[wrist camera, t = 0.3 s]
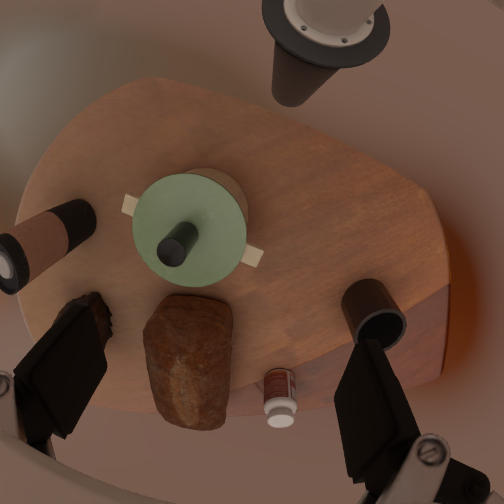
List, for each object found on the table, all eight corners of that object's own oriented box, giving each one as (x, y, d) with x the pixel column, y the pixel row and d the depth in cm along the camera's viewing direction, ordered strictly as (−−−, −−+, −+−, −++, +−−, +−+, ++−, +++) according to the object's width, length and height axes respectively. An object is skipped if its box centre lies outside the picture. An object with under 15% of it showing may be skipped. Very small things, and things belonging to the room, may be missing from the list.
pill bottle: (258, 381, 53) (256, 424, 43) (274, 363, 51) (274, 409, 41) (284, 390, 54) (285, 432, 44) (300, 373, 52) (305, 417, 42)
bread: (170, 389, 57) (156, 431, 45) (158, 283, 46) (129, 326, 34) (230, 399, 56) (224, 444, 45) (240, 294, 45) (231, 344, 34)
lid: (154, 155, 29) (127, 161, 23) (267, 200, 30) (266, 217, 24) (126, 256, 34) (101, 281, 28) (222, 298, 35) (213, 331, 29)
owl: (99, 286, 47) (39, 354, 28) (135, 337, 51) (93, 413, 33) (64, 302, 49) (10, 360, 31) (96, 347, 53) (55, 411, 35)
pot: (163, 149, 37) (134, 153, 28) (280, 196, 39) (283, 213, 30) (139, 226, 42) (110, 249, 33) (245, 270, 44) (239, 304, 35)
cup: (370, 269, 42) (389, 298, 34) (395, 298, 44) (414, 329, 36) (331, 301, 45) (342, 336, 37) (359, 327, 47) (372, 361, 39)
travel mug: (99, 242, 43) (24, 302, 25) (67, 236, 43) (-8, 289, 25) (97, 198, 40) (10, 243, 22) (64, 196, 40) (-20, 235, 22)
